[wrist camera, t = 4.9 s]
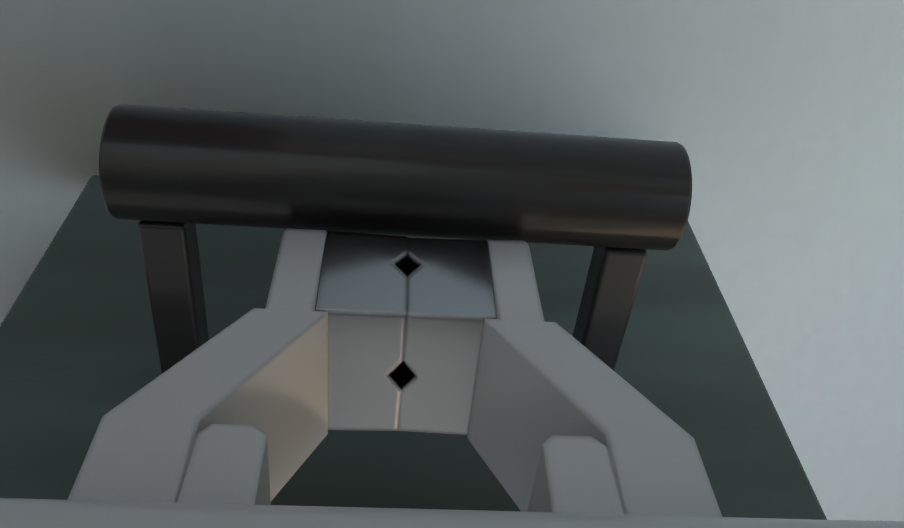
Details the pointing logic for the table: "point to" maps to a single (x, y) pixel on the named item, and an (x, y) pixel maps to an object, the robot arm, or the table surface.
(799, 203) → the table surface
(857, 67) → the table surface
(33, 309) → the drawer
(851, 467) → the table surface
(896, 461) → the table surface
